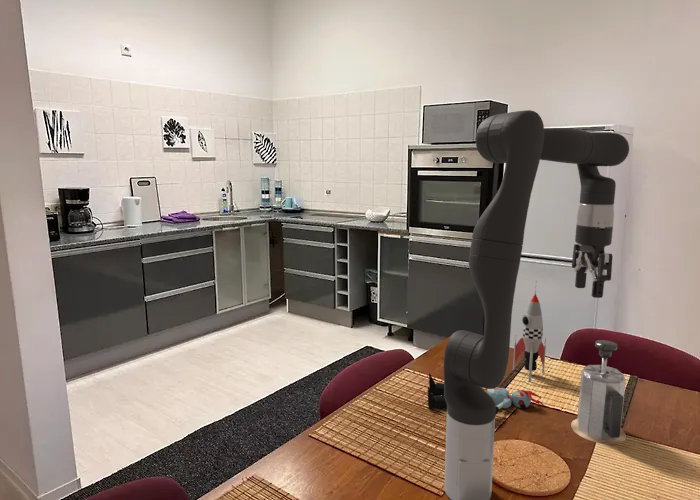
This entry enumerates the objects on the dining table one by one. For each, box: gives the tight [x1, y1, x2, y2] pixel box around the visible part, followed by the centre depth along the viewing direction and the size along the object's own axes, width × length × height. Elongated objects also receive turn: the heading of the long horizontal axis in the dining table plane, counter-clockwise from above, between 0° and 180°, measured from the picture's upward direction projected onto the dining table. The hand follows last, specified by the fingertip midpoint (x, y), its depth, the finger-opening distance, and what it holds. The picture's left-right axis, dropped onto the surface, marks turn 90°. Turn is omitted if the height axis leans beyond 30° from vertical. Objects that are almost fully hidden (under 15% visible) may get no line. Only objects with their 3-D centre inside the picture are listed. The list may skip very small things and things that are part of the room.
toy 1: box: [427, 372, 545, 417], centre depth 134 cm, size 26×8×30 cm
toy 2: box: [512, 280, 547, 382], centre depth 149 cm, size 9×8×30 cm
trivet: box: [570, 418, 627, 445], centre depth 120 cm, size 12×12×1 cm
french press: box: [576, 364, 627, 441], centre depth 117 cm, size 12×10×15 cm
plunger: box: [594, 339, 618, 374], centre depth 117 cm, size 6×6×18 cm
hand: (588, 292), depth 115 cm, fingers open, 8 cm apart
